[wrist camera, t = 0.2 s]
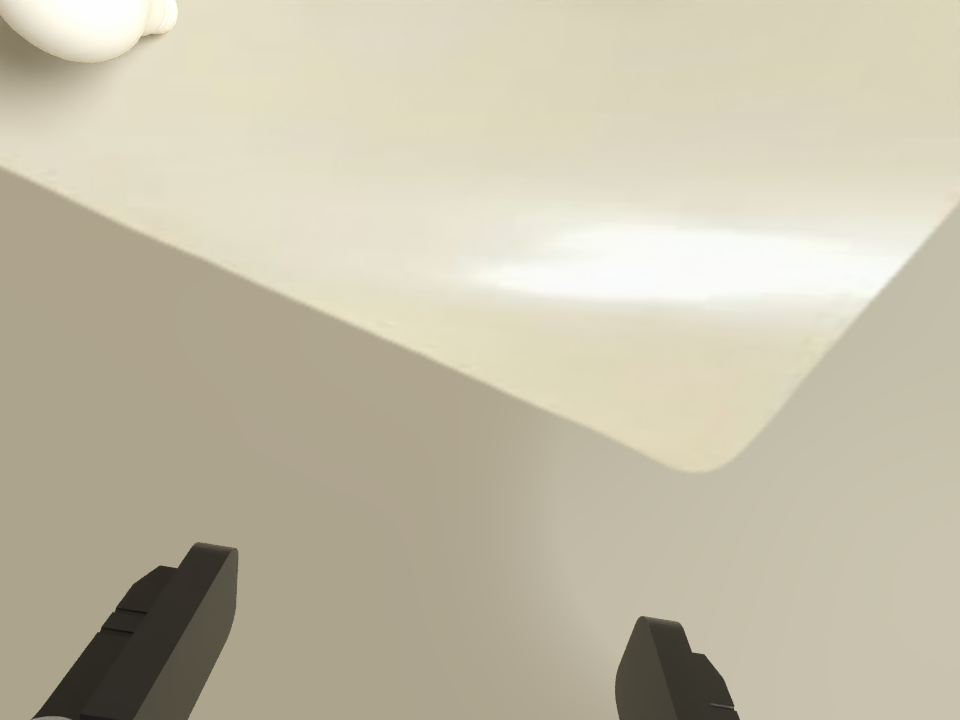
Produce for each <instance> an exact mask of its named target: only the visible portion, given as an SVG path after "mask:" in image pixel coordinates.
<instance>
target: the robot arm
mask: <svg viewBox="0 0 960 720" xmlns="http://www.w3.org/2000/svg"><path fill="white" fill-rule="evenodd" d="M237 573H238V551H237V549H236V548H231V547H225V546H219V545H213V544H207V543H200V542H198V543H195V544H194V545H193V546H192V548H191V549H190V551H189V552H188V554H187V555H186V557H185V558H184V559H183V561H182V562H181V564H180V566H179V567H178V568H172V567H166V566H158V567H157V568H156V569H154V570H153V571H151V572H150V573H149V574H147V575H146V576H144V577H143V578H141V579H140V580H139V581H137V582H136V583H134V584H133V585H132V587H131V588H130V590H129V591H128V592H127V594H126V595H125V597H124V598H123V599H122V600H121V602H120V603H119V604H118V606H117V607H116V610H115V612H113V613H112V614H111V615H110V616H109V618H108V619H107V621H106V622H105V623H104V625H103V626H102V628H101V631H100V632H98V633H97V634H96V635H95V637H94V638H93V640H92V641H91V642H90V643H89V645H88V646H87V648H86V649H85V650H84V652H83V653H82V654H81V656H80V657H79V658H78V660H77V661H76V662H75V664H74V665H73V666H72V668H71V669H70V670H69V672H68V673H67V674H66V676H65V677H64V678H63V680H62V681H61V683H60V684H59V685H58V687H57V688H56V689H55V691H54V692H53V693H52V695H51V696H50V697H49V699H48V700H47V701H46V703H45V704H44V705H43V707H42V708H41V709H40V710H39V712H38V713H37V714H36V715H35V716H34V717H33V718H32V719H31V720H188V718H189V715H190V714H191V711H192V709H193V707H194V705H195V703H196V701H197V699H198V697H199V695H200V693H201V691H202V689H203V687H204V685H205V683H206V681H207V679H208V677H209V675H210V673H211V671H212V669H213V667H214V665H215V663H216V661H217V659H218V657H219V655H220V652H221V651H222V648H223V647H224V644H225V642H226V640H227V638H228V635H229V633H230V630H231V627H232V623H233V620H234V615H235V609H236V594H237ZM615 684H616V685H615V696H616V704H617V709H618V714H619V719H620V720H740V719H739V716H738V714H737V711H734V704H733V701H732V699H731V696H730V694H729V692H728V689H727V686H726V684H725V681H724V679H723V678H722V676H721V675H720V674H719V673H718V671H717V670H716V669H715V668H714V666H713V665H712V664H711V663H710V661H709V660H708V659H707V657H706V656H705V655H704V654H698V653H692V651H691V648H690V646H689V643H688V640H687V637H686V635H685V632H684V629H683V627H682V626H681V624H680V623H678V622H675V621H669V620H662V619H657V618H651V617H645V616H641V617H640V618H639V619H638V620H637V622H636V624H635V627H634V629H633V632H632V634H631V637H630V639H629V642H628V644H627V647H626V650H625V652H624V655H623V657H622V660H621V662H620V665H619V667H618V671H617V675H616V683H615Z"/></svg>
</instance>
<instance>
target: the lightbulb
mask: <svg viewBox="0 0 960 720" xmlns="http://www.w3.org/2000/svg"><path fill="white" fill-rule="evenodd" d="M0 15H1V17H2V18H3V19H4V20H5V21H6V22H7V23H8V25H9V26H10V27H11V28H12V29H13V30H14V31H16V32H17V33H18V34H19V35H21V36H22V37H23V38H24V39H26V40H27V41H28V42H30V43H31V44H32V45H34V46H36V47H38V48H39V49H41V50H43V51H45V52H47V53H49V54H51V55H54V56H57V57H59V58H62V59H65V60H69V61H75V62H83V63H97V62H103V61H107V60H110V59H113V58H116V57H119V56H121V55H122V54H124V53H126V52H127V51H129V50H130V49H131V48H132V47H133V46H134V45H135V44H136V43H137V42H138V40H139V39H140V37H141V36H146V35H149V34H163V33H166V32H168V31H170V30H171V29H172V28H173V27H174V25H175V23H176V20H177V16H178V9H177V4H176V1H175V0H0Z"/></svg>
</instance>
